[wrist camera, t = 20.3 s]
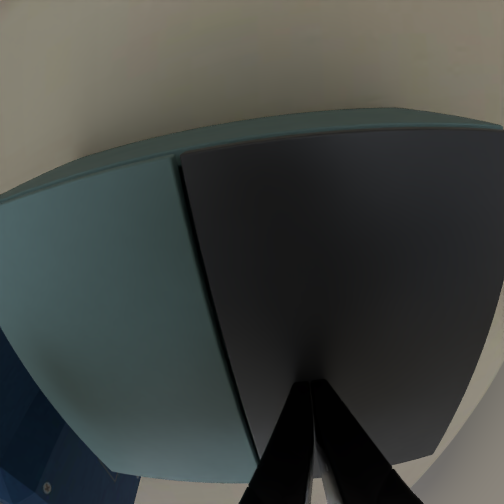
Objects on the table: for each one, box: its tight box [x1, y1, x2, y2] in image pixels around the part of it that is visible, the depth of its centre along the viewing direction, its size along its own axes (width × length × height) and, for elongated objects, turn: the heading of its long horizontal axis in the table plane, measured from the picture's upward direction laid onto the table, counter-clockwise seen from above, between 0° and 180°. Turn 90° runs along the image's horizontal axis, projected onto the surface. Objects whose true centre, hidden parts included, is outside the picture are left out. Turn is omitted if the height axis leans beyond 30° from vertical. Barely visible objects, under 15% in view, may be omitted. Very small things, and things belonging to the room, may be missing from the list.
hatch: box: [180, 127, 504, 478], centre depth 8 cm, size 7×13×1 cm, turn 9°
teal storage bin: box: [0, 108, 503, 483], centre depth 12 cm, size 15×13×8 cm
